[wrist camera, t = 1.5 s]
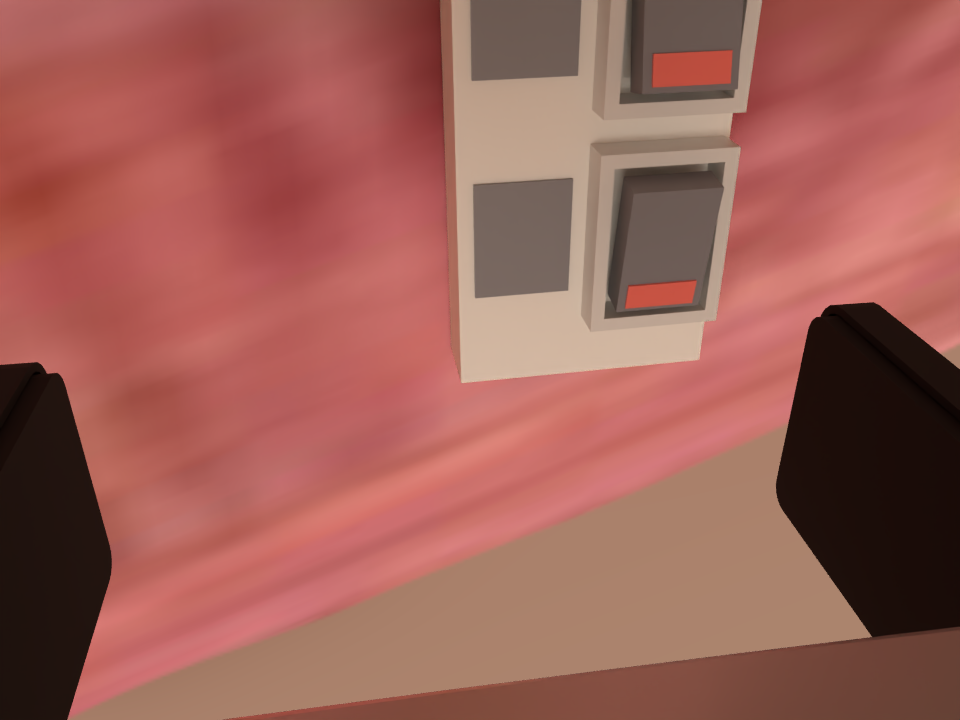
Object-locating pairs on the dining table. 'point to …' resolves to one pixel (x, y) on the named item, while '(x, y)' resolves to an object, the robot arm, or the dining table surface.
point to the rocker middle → (685, 45)
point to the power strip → (565, 184)
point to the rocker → (663, 239)
